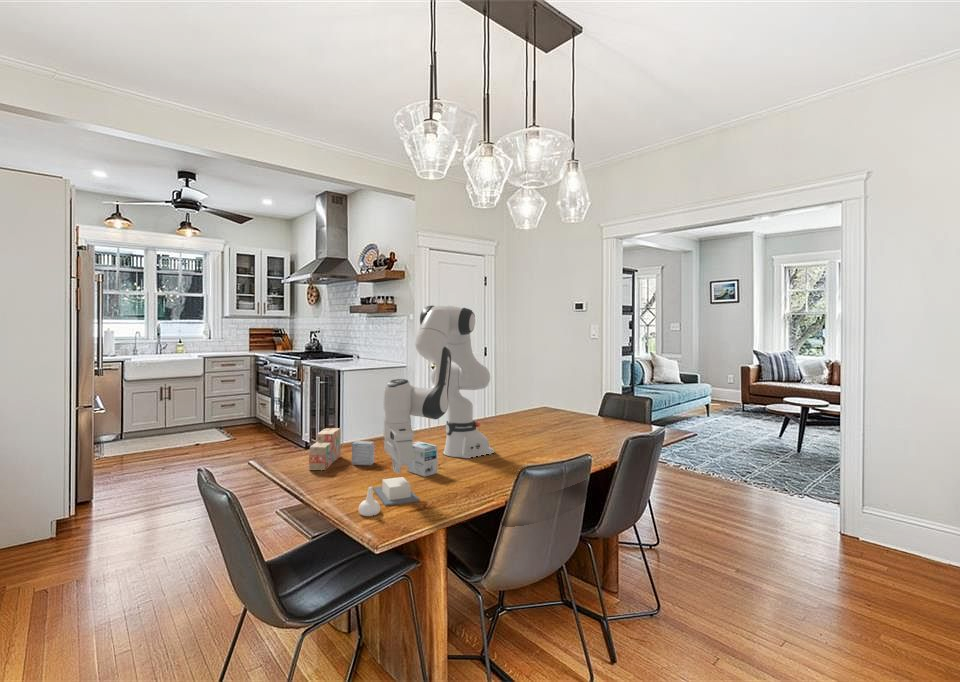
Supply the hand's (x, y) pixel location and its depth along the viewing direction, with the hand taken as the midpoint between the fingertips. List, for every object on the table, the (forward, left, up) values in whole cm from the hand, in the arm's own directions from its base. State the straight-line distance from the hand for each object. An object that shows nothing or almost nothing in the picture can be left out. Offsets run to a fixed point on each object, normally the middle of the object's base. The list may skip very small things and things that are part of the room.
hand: (397, 471), depth 160 cm
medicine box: (+2, -42, -8) cm, 43 cm away
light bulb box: (-16, -22, -8) cm, 28 cm away
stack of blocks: (+16, -49, -8) cm, 52 cm away
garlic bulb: (+11, +11, -8) cm, 18 cm away
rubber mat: (0, -1, -8) cm, 8 cm away
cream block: (0, -5, -5) cm, 7 cm away
